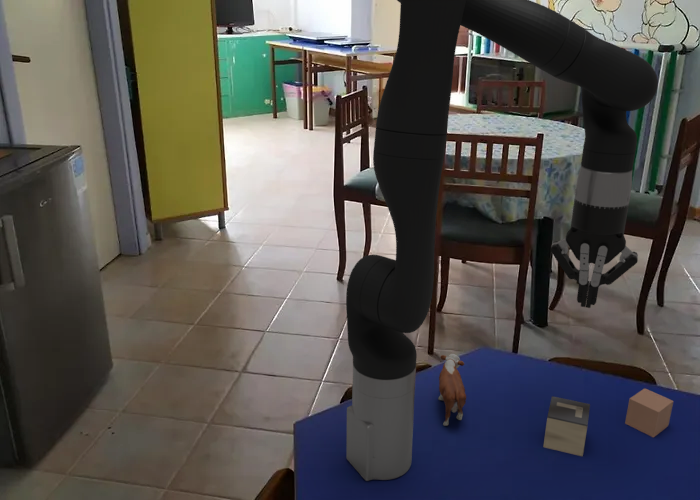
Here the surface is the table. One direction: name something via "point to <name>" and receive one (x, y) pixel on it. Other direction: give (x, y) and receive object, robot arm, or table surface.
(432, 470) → the table surface
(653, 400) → the terracotta block
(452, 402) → the bull figurine
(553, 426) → the oak block
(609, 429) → the table surface
